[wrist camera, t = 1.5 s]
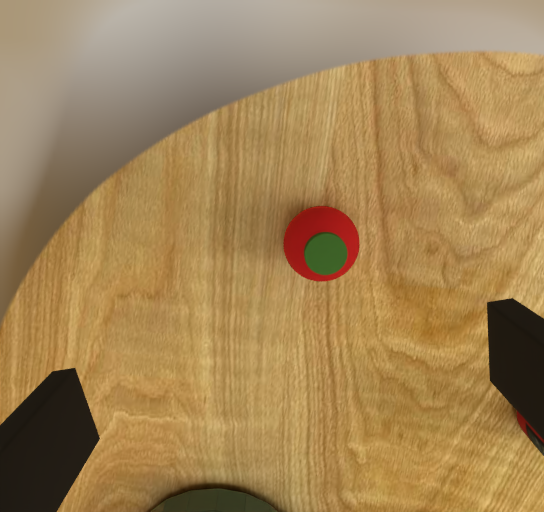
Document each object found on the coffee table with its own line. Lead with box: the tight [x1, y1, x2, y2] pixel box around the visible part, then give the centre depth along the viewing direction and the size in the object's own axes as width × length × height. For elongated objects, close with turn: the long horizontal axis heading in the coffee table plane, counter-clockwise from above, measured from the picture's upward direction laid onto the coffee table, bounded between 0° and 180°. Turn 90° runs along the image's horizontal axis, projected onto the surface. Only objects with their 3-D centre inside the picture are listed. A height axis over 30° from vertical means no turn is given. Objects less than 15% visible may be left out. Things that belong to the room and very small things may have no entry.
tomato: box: [283, 206, 359, 281], centre depth 27 cm, size 5×5×5 cm
